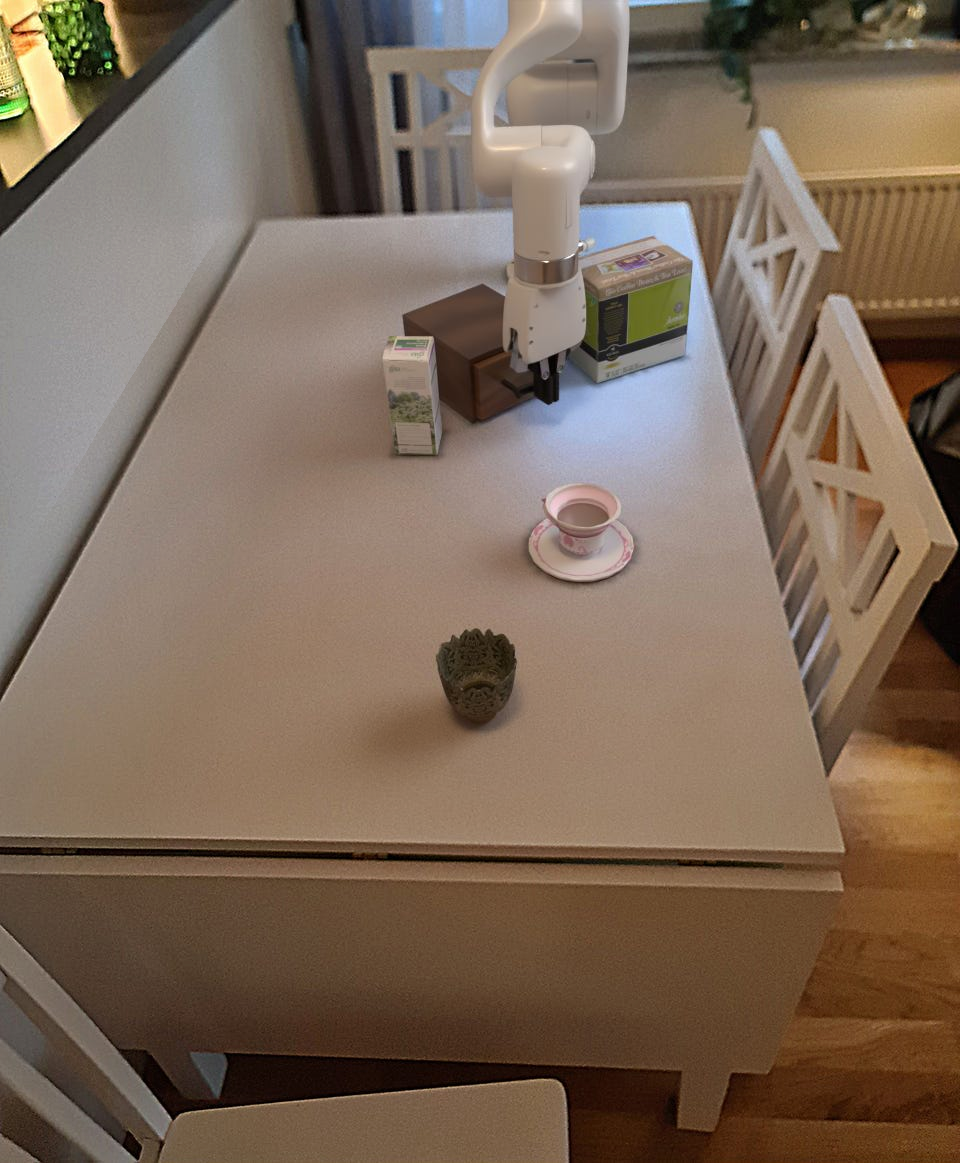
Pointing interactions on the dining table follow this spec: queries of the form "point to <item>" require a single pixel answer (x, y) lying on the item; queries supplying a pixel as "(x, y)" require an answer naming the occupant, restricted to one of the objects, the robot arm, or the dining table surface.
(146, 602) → the dining table surface
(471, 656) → the cup
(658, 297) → the tea box
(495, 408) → the drawer
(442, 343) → the cabinet
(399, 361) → the syrup box
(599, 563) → the teacup
